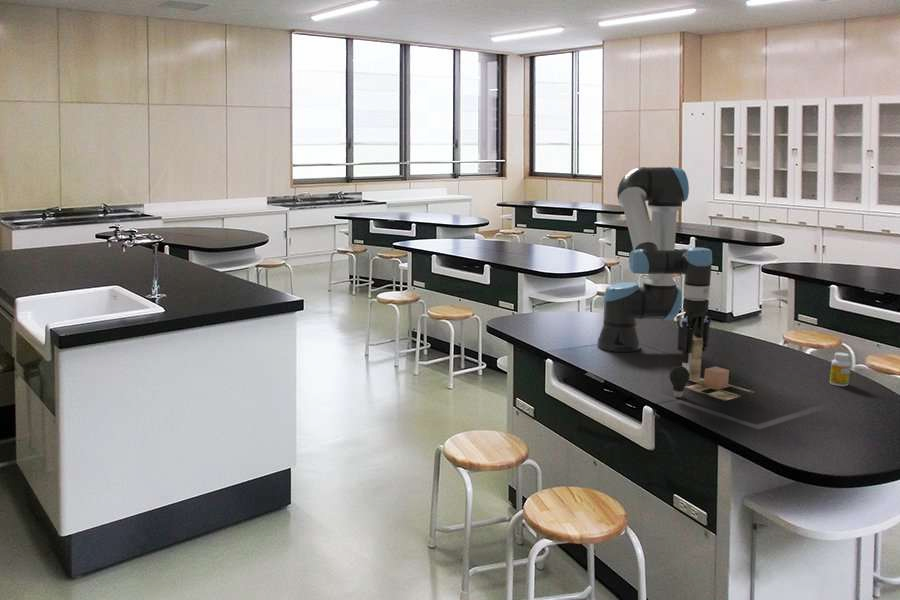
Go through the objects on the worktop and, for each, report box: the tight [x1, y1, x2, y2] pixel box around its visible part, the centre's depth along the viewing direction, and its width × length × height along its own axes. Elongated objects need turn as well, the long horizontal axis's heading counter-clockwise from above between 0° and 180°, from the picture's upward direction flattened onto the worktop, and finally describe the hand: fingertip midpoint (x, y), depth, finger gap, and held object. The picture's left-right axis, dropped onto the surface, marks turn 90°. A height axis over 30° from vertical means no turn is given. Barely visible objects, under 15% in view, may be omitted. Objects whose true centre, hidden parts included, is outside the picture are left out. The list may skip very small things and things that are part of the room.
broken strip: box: [686, 383, 738, 401], centre depth 244 cm, size 15×5×1 cm, turn 35°
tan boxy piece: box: [681, 335, 730, 390], centre depth 253 cm, size 15×5×14 cm, turn 35°
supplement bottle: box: [829, 352, 851, 387], centre depth 256 cm, size 5×5×10 cm
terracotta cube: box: [703, 366, 730, 389], centre depth 250 cm, size 5×5×5 cm
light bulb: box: [669, 365, 690, 400], centre depth 239 cm, size 6×6×10 cm
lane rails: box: [684, 383, 755, 402], centre depth 246 cm, size 15×14×1 cm
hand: (691, 371), depth 258 cm, fingers closed on tan boxy piece, 4 cm apart
